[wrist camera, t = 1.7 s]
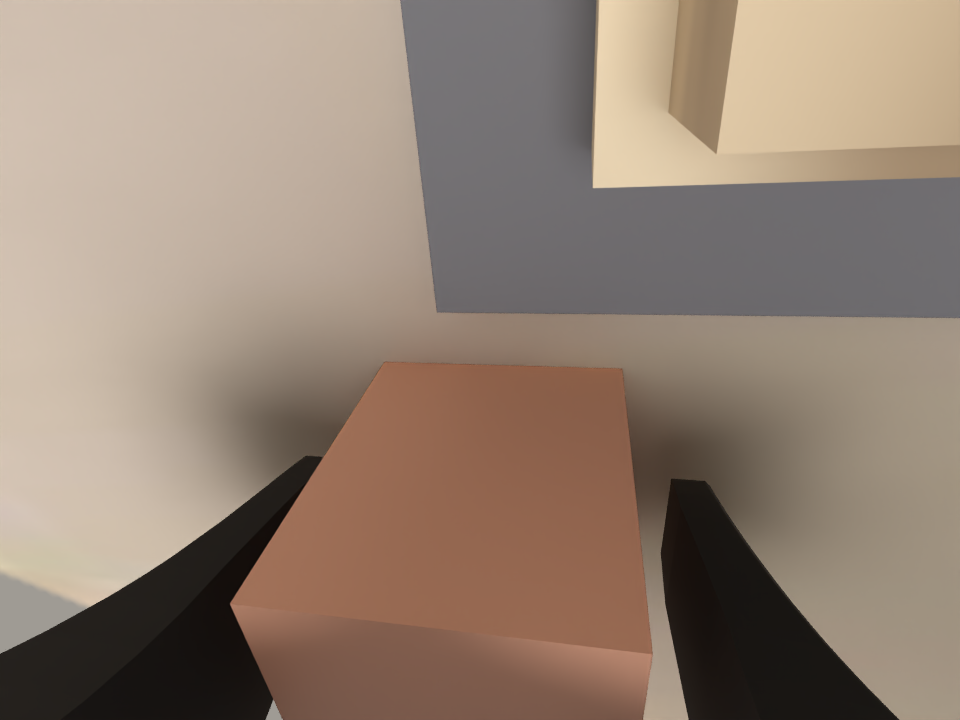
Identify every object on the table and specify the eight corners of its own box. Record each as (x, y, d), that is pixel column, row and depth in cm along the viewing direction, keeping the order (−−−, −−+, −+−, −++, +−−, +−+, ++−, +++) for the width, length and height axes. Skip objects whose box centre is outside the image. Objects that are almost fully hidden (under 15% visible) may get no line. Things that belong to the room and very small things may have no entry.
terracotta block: (622, 367, 11) (652, 654, 6) (609, 542, 13) (622, 851, 8) (385, 360, 12) (229, 603, 7) (414, 525, 14) (317, 795, 9)
